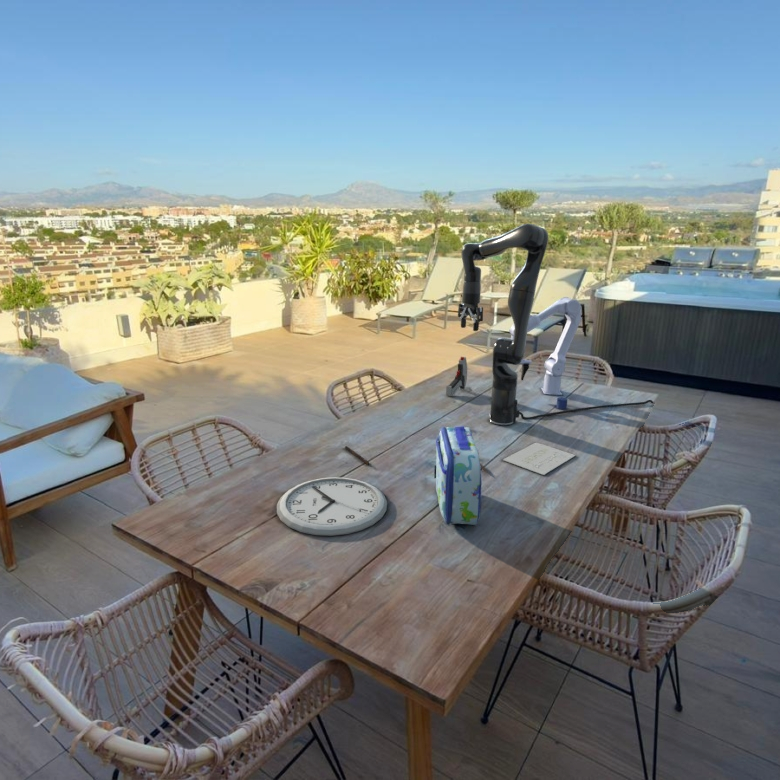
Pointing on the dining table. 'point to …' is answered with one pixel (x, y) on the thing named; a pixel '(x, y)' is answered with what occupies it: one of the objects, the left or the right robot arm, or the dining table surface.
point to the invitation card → (539, 458)
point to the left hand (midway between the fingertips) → (469, 329)
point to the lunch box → (458, 476)
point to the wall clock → (331, 506)
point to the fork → (483, 468)
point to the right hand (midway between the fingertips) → (513, 379)
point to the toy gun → (458, 378)
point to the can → (561, 403)
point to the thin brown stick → (357, 455)
